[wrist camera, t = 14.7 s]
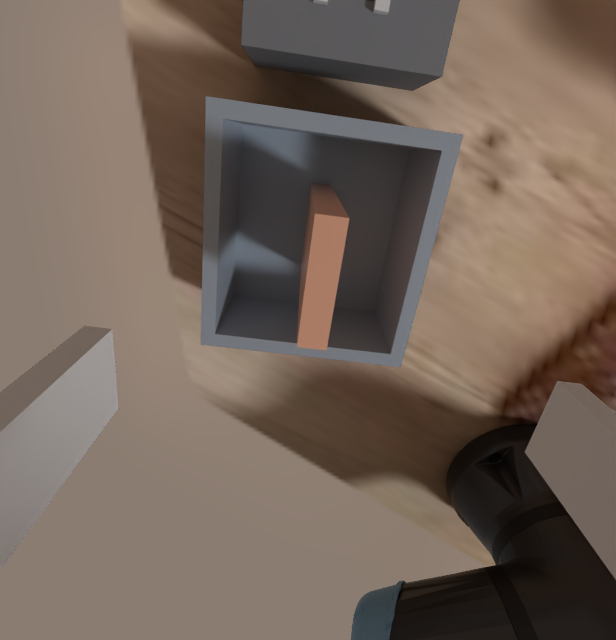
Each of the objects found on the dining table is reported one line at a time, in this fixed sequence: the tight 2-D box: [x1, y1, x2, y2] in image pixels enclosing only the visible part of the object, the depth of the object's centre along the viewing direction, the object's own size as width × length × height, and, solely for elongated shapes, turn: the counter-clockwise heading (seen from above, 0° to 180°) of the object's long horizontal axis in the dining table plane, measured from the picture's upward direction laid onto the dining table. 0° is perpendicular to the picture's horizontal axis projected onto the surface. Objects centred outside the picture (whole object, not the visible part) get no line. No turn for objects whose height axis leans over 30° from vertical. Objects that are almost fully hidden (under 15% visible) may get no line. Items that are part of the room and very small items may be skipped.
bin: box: [201, 96, 463, 367], centre depth 30 cm, size 16×15×9 cm
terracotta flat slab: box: [297, 183, 349, 351], centre depth 26 cm, size 7×2×15 cm, turn 172°
